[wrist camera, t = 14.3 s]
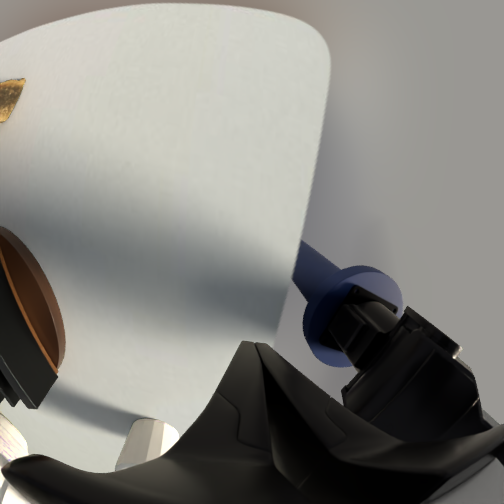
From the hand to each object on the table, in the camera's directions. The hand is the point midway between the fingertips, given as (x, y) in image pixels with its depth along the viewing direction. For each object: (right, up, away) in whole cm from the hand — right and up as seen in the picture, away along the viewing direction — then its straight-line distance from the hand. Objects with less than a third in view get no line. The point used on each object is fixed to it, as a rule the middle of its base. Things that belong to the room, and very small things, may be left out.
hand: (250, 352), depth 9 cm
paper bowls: (-45, -28, +15) cm, 55 cm away
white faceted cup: (-11, -17, +16) cm, 26 cm away
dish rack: (-26, -3, +9) cm, 27 cm away
